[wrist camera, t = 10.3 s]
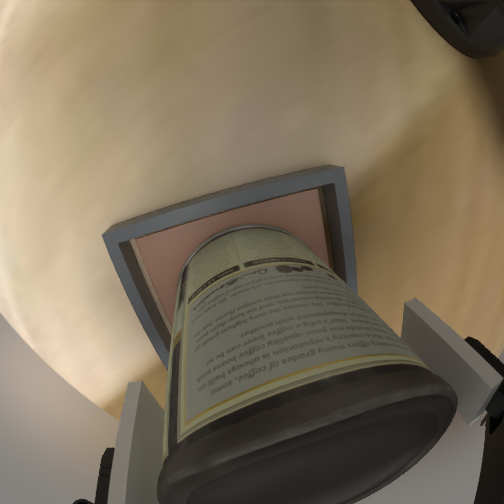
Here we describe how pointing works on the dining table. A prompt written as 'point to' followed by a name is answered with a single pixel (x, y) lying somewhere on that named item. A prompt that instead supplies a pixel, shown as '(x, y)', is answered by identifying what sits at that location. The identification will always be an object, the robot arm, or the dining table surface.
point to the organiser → (195, 232)
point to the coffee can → (287, 382)
